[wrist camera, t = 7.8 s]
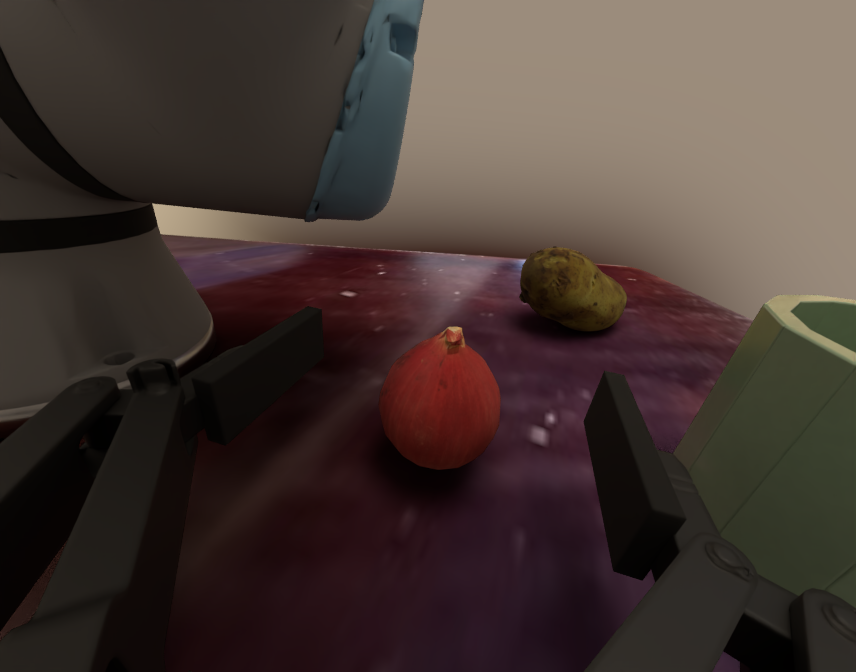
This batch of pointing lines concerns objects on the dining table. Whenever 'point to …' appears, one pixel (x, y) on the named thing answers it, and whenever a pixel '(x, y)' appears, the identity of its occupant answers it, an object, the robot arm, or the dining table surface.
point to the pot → (785, 445)
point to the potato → (571, 290)
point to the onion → (440, 403)
